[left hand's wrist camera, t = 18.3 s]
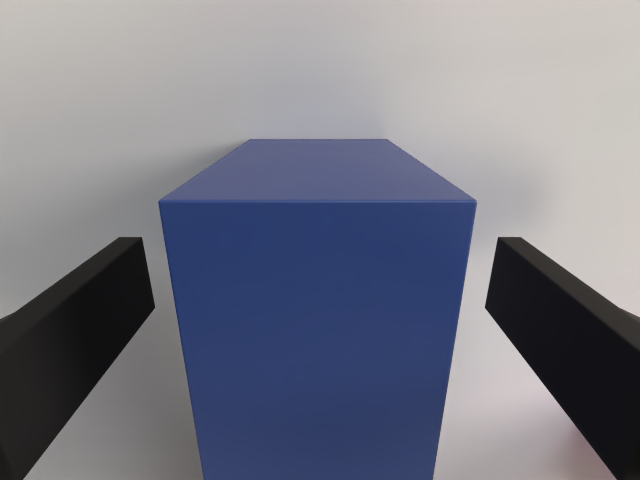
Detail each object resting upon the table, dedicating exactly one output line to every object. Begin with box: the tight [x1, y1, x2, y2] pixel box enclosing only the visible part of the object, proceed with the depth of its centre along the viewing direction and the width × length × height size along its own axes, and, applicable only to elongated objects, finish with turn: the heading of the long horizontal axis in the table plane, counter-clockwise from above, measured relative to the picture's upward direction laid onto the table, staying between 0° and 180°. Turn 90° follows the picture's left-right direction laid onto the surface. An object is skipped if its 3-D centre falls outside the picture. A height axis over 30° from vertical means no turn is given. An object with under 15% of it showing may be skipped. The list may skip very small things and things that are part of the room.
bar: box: [158, 139, 477, 480], centre depth 15 cm, size 23×6×9 cm, turn 0°
